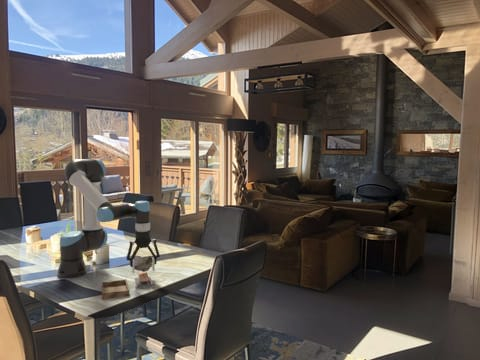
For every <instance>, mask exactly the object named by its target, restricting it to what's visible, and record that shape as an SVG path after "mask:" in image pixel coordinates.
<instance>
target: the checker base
mask: <svg viewBox="0 0 480 360" xmlns="http://www.w3.org/2000/svg"><path fill="white" fill-rule="evenodd" d="M148 277H149V281H142V282H141V281H140V278H139V277H134V281H135V286H136V288H137V289H139V287H140V288H146V287H147V286H148V287H154V283H153V280H152V278H151V276H150V274H148Z"/></svg>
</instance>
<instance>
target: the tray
mask: <svg viewBox="0 0 480 360" xmlns="http://www.w3.org/2000/svg"><path fill="white" fill-rule="evenodd" d="M100 284H101V285H100V286H101V299H102V300H108V299H115V297H116V298H121V297H120V296H123V297H128V295H130V288H129V284H128V280H127V278H125V279H117V280H109V281H101V282H100Z"/></svg>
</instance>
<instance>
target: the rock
mask: <svg viewBox="0 0 480 360" xmlns="http://www.w3.org/2000/svg"><path fill="white" fill-rule="evenodd" d="M152 258H153V256H152V257H151V256H150V255H149V256H148V257H146V258H145V259H143V260H141V261H138V262H136V263H135V262H134V271H135V270H136V271H138V272H147V271H149V270H150V269H152Z"/></svg>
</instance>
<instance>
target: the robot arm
mask: <svg viewBox="0 0 480 360" xmlns="http://www.w3.org/2000/svg"><path fill="white" fill-rule="evenodd" d="M106 174H107V168H106V166H105V163H104V162H103V161H102V160H101V159H98V158H83V159H82V158H81V159H80V158H79V159H78V158H77V159H72V160H70V161H69V162H68V163H67V164H66V166H65V168H64V177H65V179H66V181H67V182H68V183H69V184H70V185H71V186H74V187H75V188H76V189H77V190H78V191H79V193H80V194H82V196H83V208H84V209H83V211H84V213H83V214H84V217H83V218H84V219H83V220H84V225H83V226H82V228H81V230H73V231H72V230H71V231H68V232H65V233H63V234H61V236H60V237H59V249H60V250H59V251H60V253H59V254H60V263H59V266H58V269H57V277H59V278H63V279H72V278H78V277H82V276H83V275H85V274H86V273H87V272H88V270H87V266H86V263H85V260H84V253H88V252H90V251H96V250H99V249H102V248H104V247H105V246H106V244H107V241H108V233H107V230H106V229H104V227H103V225H101V223H109V222H110V223H111V222H113V221H114V222H115V221H117V220H118V221H119V220H123V219H124V220H125V219H129V218H132V219H135V220H134V222H135V228H134V229H135V239H134V240H130V241H129V247H128V250H127V251H128V252H127V254H126V260H127V261H129V266H130V268H132V269H131V270H132V274H135V269H134V264H135V257H136V256H137V254H138V251H140V249H148V251H149V252H150V254H151V256H152V267H151V269H152V272H155V266H156V265H157V259H158V258H160V257H161V255H160V251H159V249H158V245H157V239H156V238H153V239H151V207H150V202H149V200H138V201H137V200H136V201H135V202H134V203H131V202H122V203H120V204H117V205H113V204H112V203H111V202H110V201H109V200H108V199H107V197H105V195H103V193H102V192H101V191H100V184H101V183H103V178H105V177H106ZM151 243H152V245H153V247H154V251H155V252H154V251H153V249H152V248H151V246H150V244H151ZM134 245H136V246H135V249H134V250H133V247H134ZM132 250H133V253H132ZM155 253H156V254H155Z"/></svg>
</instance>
